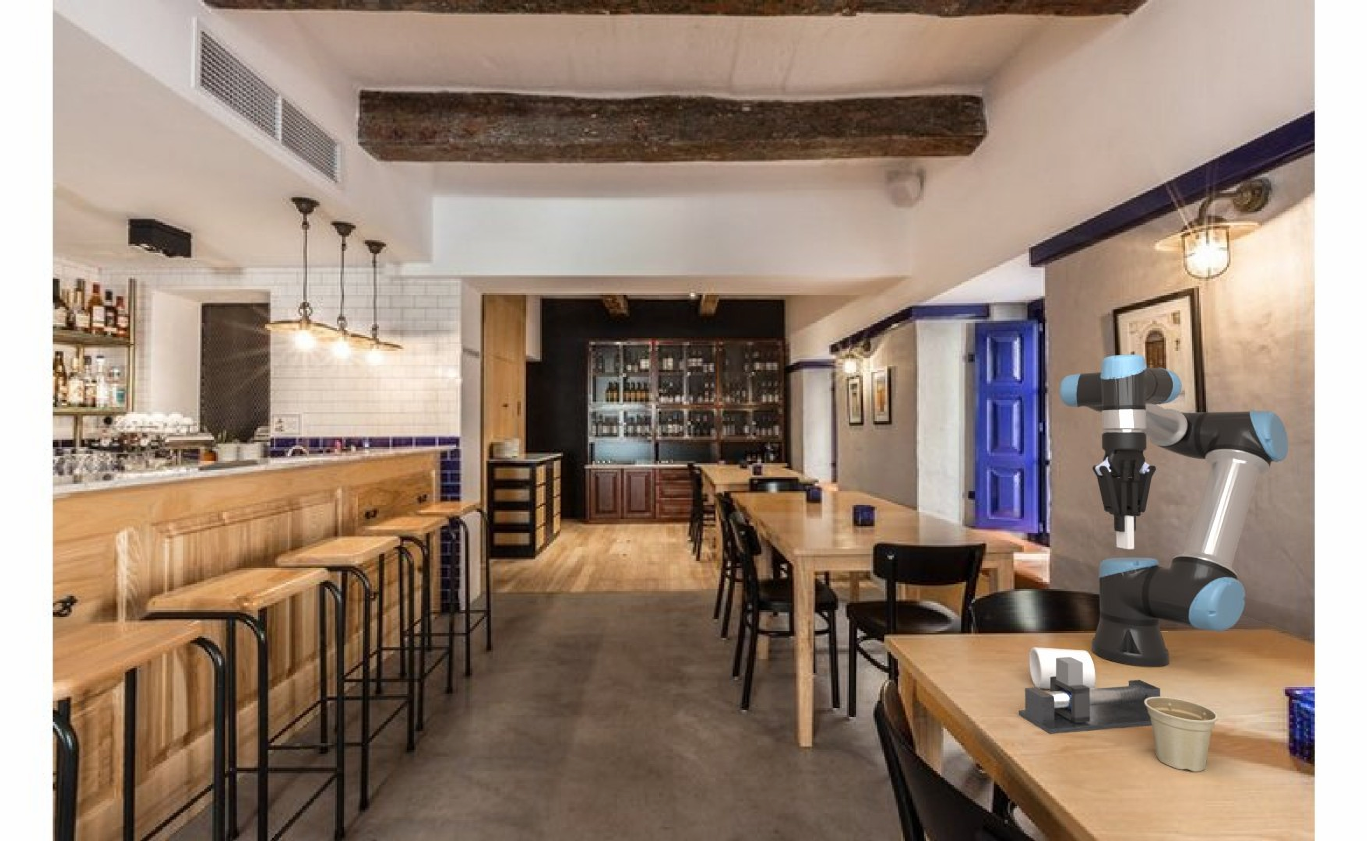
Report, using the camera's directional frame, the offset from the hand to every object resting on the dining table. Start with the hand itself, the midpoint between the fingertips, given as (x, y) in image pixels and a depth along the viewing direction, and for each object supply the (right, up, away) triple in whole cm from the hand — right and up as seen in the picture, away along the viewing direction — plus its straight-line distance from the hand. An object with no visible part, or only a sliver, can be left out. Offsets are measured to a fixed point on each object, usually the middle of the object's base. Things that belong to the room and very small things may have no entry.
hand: (1125, 547), depth 133 cm
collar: (-19, -29, -13) cm, 37 cm away
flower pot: (-10, -29, -28) cm, 42 cm away
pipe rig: (-14, -29, -12) cm, 35 cm away
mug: (-11, -30, +4) cm, 32 cm away
